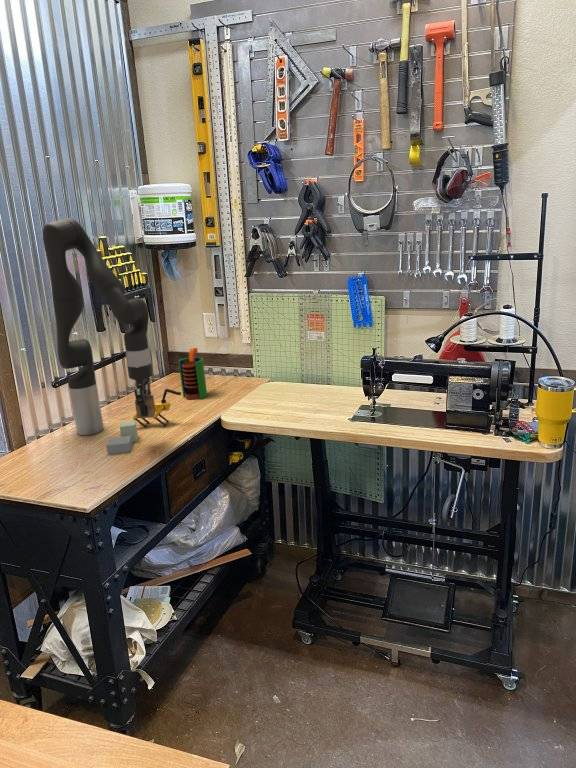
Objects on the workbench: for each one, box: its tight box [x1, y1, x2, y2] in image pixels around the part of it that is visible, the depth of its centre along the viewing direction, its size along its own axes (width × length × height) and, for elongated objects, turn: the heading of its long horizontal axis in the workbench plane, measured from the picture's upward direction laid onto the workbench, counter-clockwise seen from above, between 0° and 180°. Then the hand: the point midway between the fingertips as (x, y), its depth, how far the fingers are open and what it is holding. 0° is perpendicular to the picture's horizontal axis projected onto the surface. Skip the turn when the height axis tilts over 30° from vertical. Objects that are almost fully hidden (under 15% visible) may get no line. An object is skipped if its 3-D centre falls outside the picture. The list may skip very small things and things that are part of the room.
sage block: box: [119, 419, 139, 443], centre depth 201 cm, size 5×5×6 cm
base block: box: [106, 435, 133, 455], centre depth 193 cm, size 7×7×4 cm
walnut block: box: [134, 394, 156, 420], centre depth 192 cm, size 5×5×6 cm
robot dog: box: [132, 388, 182, 429], centre depth 212 cm, size 6×18×13 cm, turn 89°
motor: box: [177, 347, 208, 401], centre depth 241 cm, size 10×9×20 cm
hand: (146, 412), depth 192 cm, fingers closed on walnut block, 5 cm apart
